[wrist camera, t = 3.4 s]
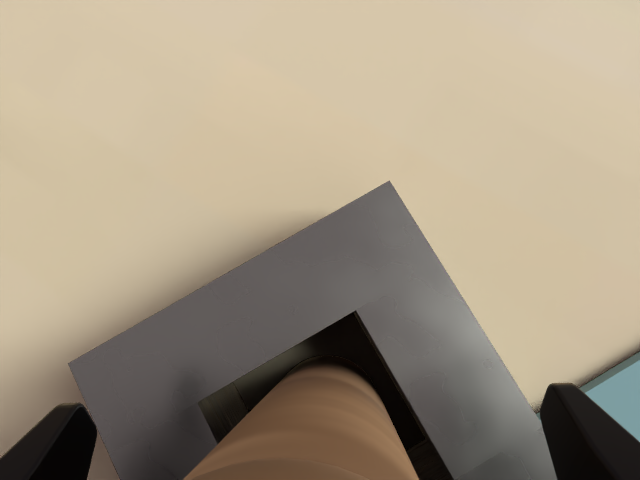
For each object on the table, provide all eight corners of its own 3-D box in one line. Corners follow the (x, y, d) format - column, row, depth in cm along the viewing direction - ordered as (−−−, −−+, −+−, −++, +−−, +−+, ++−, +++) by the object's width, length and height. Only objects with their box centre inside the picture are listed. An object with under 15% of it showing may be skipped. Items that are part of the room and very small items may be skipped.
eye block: (269, 634, 15) (242, 750, 11) (134, 352, 16) (68, 363, 12) (537, 471, 15) (605, 525, 11) (378, 212, 17) (389, 180, 13)
